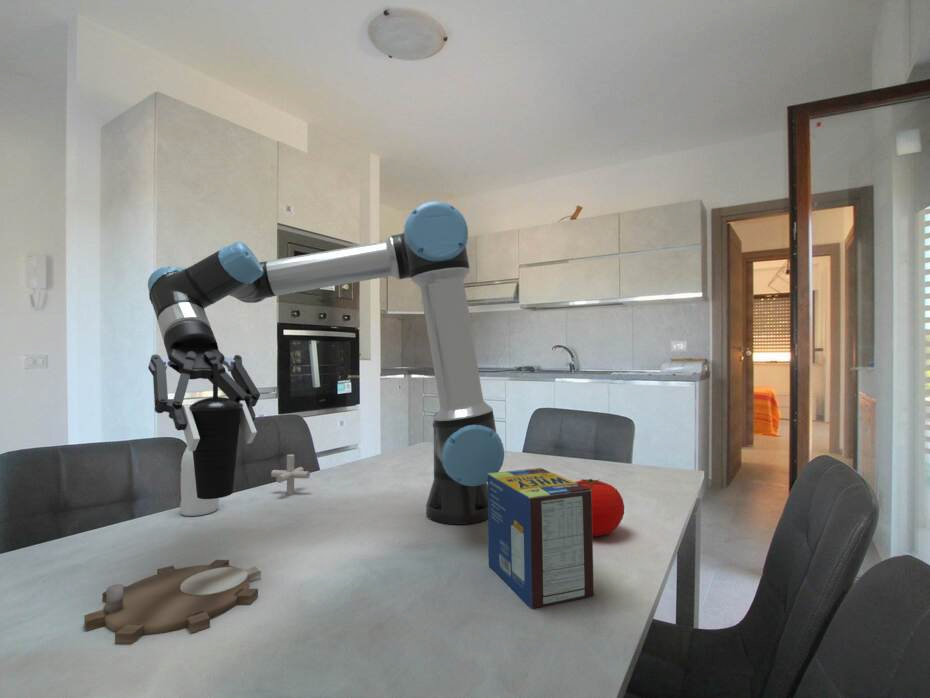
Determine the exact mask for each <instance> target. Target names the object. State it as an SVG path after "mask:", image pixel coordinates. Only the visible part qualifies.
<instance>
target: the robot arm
mask: <svg viewBox="0 0 930 698" xmlns="http://www.w3.org/2000/svg"><path fill="white" fill-rule="evenodd" d="M468 239H469V231H468V225H467V221H466V219H465V217H464V216H463V214H462V213H461V212H460V211H459V210H458V209H457V208H456V207H454V206H453V205H451V204H450V203H448V202H447V203H446V202H444V201H438V200H437V201H434V200H433V201H427V202H424V203H421V204H420V205H418V206H417V207H415V208H414V209H413V211H412V212H411V213H410V215H409V216H408V217H407V219H406V221H405V225H404V230H403V232H402V233H398V234H394V235H389V236H388V238H387V239H386V240H385V241H380V242H375V243H367V244H362V245H357V246H350V247H345V248H344V247H343V248H338V249H331V250H326V251H321V252H312V253H307V254H301V255H295V256H294V255H293V256H289V257H288V256H287V257H282V258H277V259H270V260H267V261H259V260H258V258H257V256H256V254H254V252H253V251H252V249H251V248H250V247H249V246H248V245H247V244H246V243H245V242H243V241H236V242H234V243H231V244H229V245H227V246H223V247H222V248H220V249H219V250H218V251H216V252H214V253H212V254H210V255H208V256H207V257H205V258H203V259H202V260H199V261H198V262H196V263H194V264H193V265H190V266H189V267H186V268H182V267H180V266H175V265H171V266H166V267H165V266H163V267H160V268H157V269H156V270H155V271H153V272H152V273H151V274H150V276H149V277H148V281H147V288H148V297H149V301H150V303H151V305H152V308H153V310H154V314H155V317H156V320H157V324H158V328H159V330H160V333H161V337H162V340H163V344H164V347H165V351H166V355H167V356H164V357H161V356H160V355H159V354H152V355H151V356H150V358H149V359H150V360H149V363H148V367H147V369H148V370H149V372H150V373H151V375H152V378H153V379H152V380H153V382H152V383H153V396H154V397H153V399H154V403H153V404H154V411H155V413H157V414H163V413H168V418H169V419H171V420H172V421H173V424H174V427H175V430H177V431H183V434H184V438H185V441H186V444H187V446H188V448H189V451H195V450H196V447H197V445H198V442H199V440H200V437H199V434H198V430H197V427H196V424H195V421H194V418H193V414H192V411H190V409H189V407H190V405H191V404H190V403H184V399H185V396H186V392H187V388H188V385H189V382H190V380H197V379H202V380H208V381H209V382H210V383H211V384H212V385H213V363H218V389H219V390H221V391H222V393H223V394H224V395H225V396H226V398H229V399H232V400H235V401H237V402H238V403H242V404H243V407H242V408H241V414H240V424H239V428H240V429H241V432H242V435H243V437H244V441H245V443H246V445H249V444H252V443H253V442H254V439H255V437H256V435H257V433H258V431H257V429H256V426H255V423H254V421H255V418H256V415H257V414H256V413H255V410H254V408H253V407H255V406H256V405H257V403H258V401H259V399H260V397H261V393H260V391H259V390H258V388H257V386H256V384H255V383H254V382H253V380H252V378H251V376H250V375H249V373H248V371H247V370H246V368H245V366H244V365H243V357H242V356H241V355H239V354H235V355H234V356H233V357H227V356H225V355H224V353H222V352H221V351H220V350H219V344H218V342H217V339H216V336H215V334H214V331H213V330H212V326H211V324H210V321H209V318H208V316H207V314H206V311H205V309H206V308H208V307H209V306H211V305H214V304H215V303H217V302H219V301H221V300H222V299H224V298H226V297H228V296H229V297H233V298H235V299H237V300H238V301H240V302H243V303H248V304H250V303H251V304H254V303H255V304H257V303H259V302H262V301H264V300H265V299H268V298H273V297H277V296H283V295H289V294H293V293H294V294H295V293H301V292H305V291H312V290H317V289H323V288H330V287H336V286H340V285H347V284H352V283H358V282H364V281H371V280H377V279H382V278H388V277H389V278H390V277H393V278H395V279H396V280H403V279H410V280H411V282H413V283H414V284H416V285H417V286H418V287H419V288H420V292H421V298H422V299H421V300H422V305H423V311H424V316H425V322H426V329H427V335H428V342H429V348H430V353H431V359H432V366H433V373H434V376H435V378H434V379H435V383H436V389H437V395H438V401H439V402H438V403H439V409H438V411H436V412H435V413H434V414H433V421H432V427H433V482H432V484H431V487H430V491H429V493H428V494H429V495H428V498H427V500H426V506H425V508H426V509H425V510H426V512H425V515H426V517H427V518H428V519H429V520H431V521H433V522H437V523H441V524H449V525H470V524H477V523H482V522H484V521H488V473H496V472H501V469H502V467H503V463H504V461H505V447H504V444H503V442H502V439H501V437H500V434H498V433H497V427H496V421H495V416H494V410H493V407H492V406H490V405H489V404H488V403H487V402H485V401H484V397H483V391H482V383H481V379H480V377H481V376H480V373H479V372H480V371H479V365H478V360H477V353H476V348H475V343H474V336H473V330H472V324H471V319H470V317H471V316H470V311H469V306H468V299H467V293H466V287H465V279H466V278H467V276H468V275H469V273H470V271H471V270H470V264H469V258H468V251H467V243H468ZM168 367H170V368H171V369H173V370H174V371H175V372H177V373H178V374H180V375H179V378H178V382H177V386H176V390H175V393H174V396H173V399H169V395H168V382H167V381H168V380H167V368H168ZM226 368H227V371H226ZM227 372H230V374H231V375H229V373H227ZM183 403H184V404H183Z"/></svg>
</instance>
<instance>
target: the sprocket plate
mask: <svg viewBox="0 0 930 698" xmlns="http://www.w3.org/2000/svg"><path fill="white" fill-rule="evenodd" d="M156 571H157V572H156V573H157V574H154V575H150V576H148V577H145V578H142V579H140V580H137V581H135V582H132V583H131V584H128V585H126V586H125V585H124V584H122V583H118V584H112V585H110V586H108V587H107V588H106V591H103V592H102V595H101V596H102V602H103V603H105V604H104V606H103V608H102V610H98V611H94V612H91V613H88V614H84V616H83V617H84V619H83V621H84V622H83V624H84V630H85V632H87V631H91V630H94V629H97V628H101V627H106V628H107V629H108V630H109V631H112V632H115V633H114V644H126V645H127V644H128V645H129V644H134V643H135V642H137V641H138V640H139V639H140V638H141V637H142V636H144V635H154V634H160V633H161V634H162V633H167V632H173V631H177V630H181V629H185V628H187V630H188V631H189V633H190V634H193V633H197V632H199V631H202V630H206V629H208V628H210V627H211V619H214V618H216V617H218V616H221V615H222V614H224V613H226V612H227V611H229V610H231V609H232V608H234V607H235V606H237V605H248V606H249V605H252V604H253V602H255V600H257V598H258V597H259V588H250V583H251V582H254V580H255V581H257V580H260V579H262V571H261V570H260V569H259V568H258V566H253V567H250V568H246V569H243V568H241V567H237V566H232V565H230V559H215V560H214V561H212V562H211V563H209V564H202V565H192V566H186V567H180V568H176V567H175V566H174V565H169V566H165V567H162V568H157V569H156Z"/></svg>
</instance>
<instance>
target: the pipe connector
mask: <svg viewBox="0 0 930 698" xmlns="http://www.w3.org/2000/svg"><path fill="white" fill-rule="evenodd" d="M270 474H271V475H270V476H271V477H272V478H276V479H275V480H276V483H279V484H280V483H283V482H285V481H286V495H287V496H292V494H293V495H295V479H309V478H310V476H311V472H310V471H307V470H306V471H305V469H304V468H303V466H299V467H297V468H295V454H287V455H286V469H285V470H283V469H280V470H279V469H273V470H271V473H270Z"/></svg>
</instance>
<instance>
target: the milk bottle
mask: <svg viewBox="0 0 930 698" xmlns="http://www.w3.org/2000/svg"><path fill="white" fill-rule="evenodd" d="M179 482H180V484H179V487H180V488H179V490H180V491H179V494H180V496H179V497H180V498H179V508H180V514H181V515H182V516H186V517H195V516H196V517H199V516H204V515H208V514H211V513H212V514H213V513H214V512H216V511H217V510H218V509H219V499H220V498H216V499H199V498H197V491H196V480H195V470H194V460H193V451H189V448H188V445H187V446H186V448H185V450H184V452H183V454H182V457H181V462H180V481H179Z"/></svg>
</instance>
